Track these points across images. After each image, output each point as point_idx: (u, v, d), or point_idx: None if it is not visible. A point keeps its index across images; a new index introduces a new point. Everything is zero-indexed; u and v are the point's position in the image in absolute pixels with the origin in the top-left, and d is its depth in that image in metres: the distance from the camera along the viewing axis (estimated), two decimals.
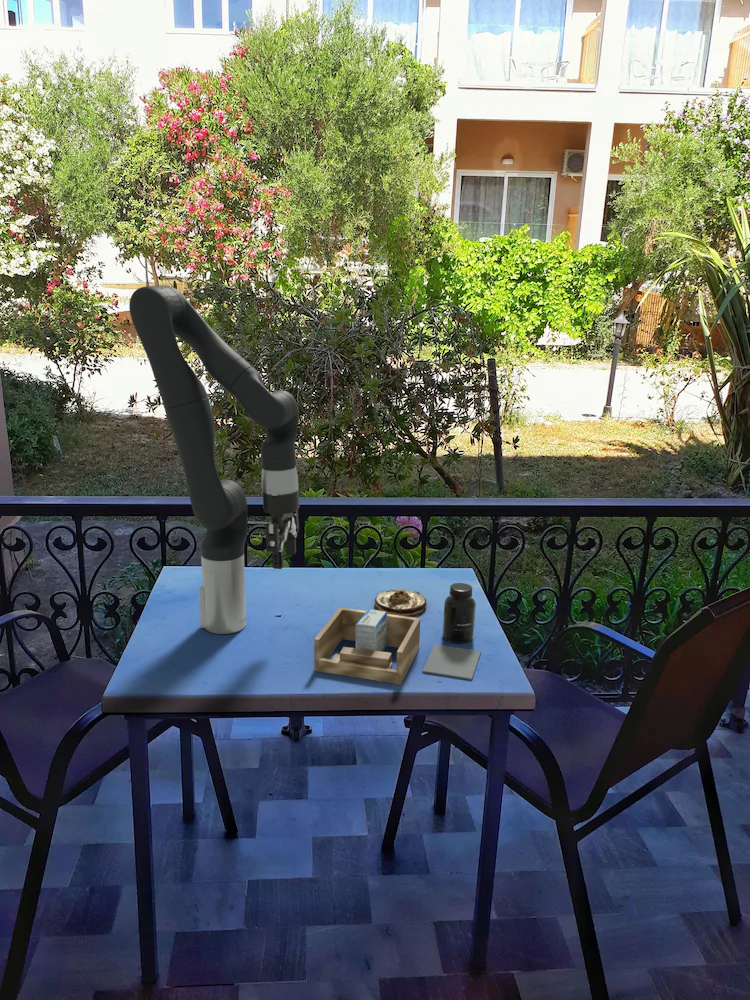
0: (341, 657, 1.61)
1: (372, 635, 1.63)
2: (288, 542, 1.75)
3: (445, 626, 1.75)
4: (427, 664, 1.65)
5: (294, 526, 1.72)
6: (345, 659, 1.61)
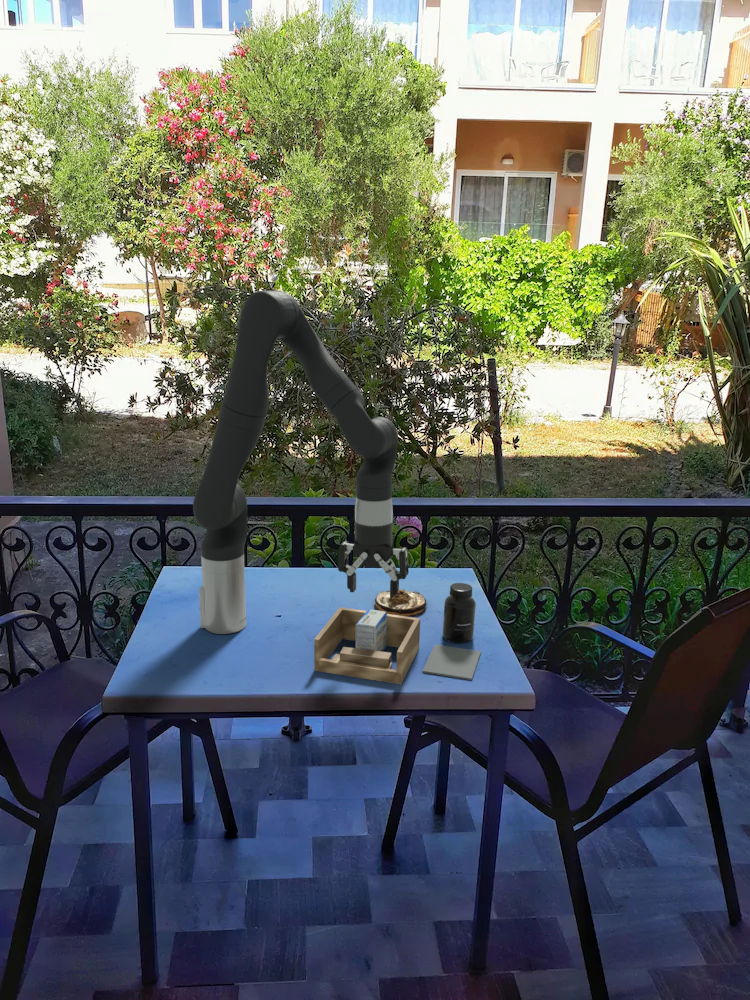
0: (341, 657, 1.61)
1: (372, 635, 1.63)
2: (354, 579, 1.65)
3: (445, 626, 1.75)
4: (427, 664, 1.65)
5: None
6: (345, 659, 1.61)
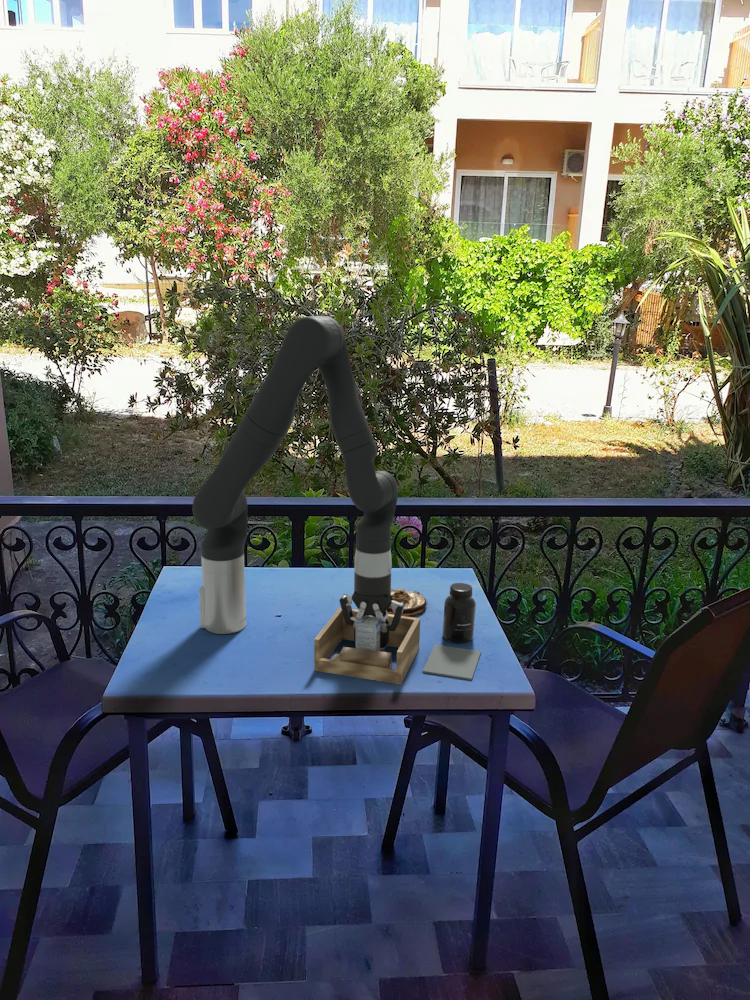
0: (341, 657, 1.61)
1: (372, 635, 1.63)
2: None
3: (445, 626, 1.75)
4: (427, 664, 1.65)
5: None
6: (345, 659, 1.61)
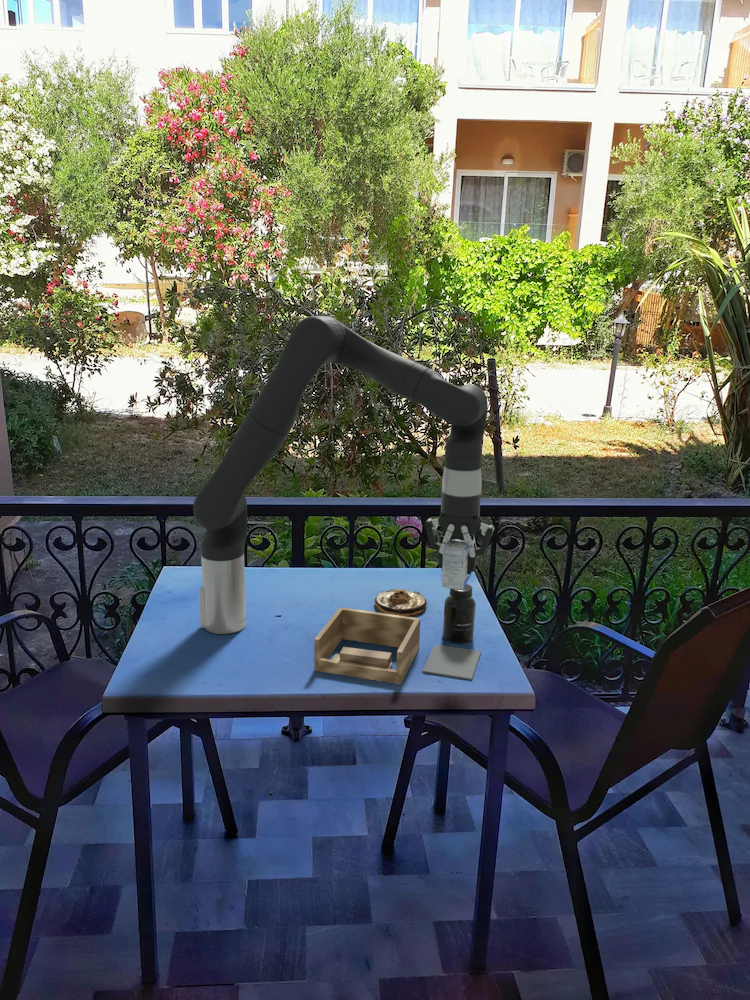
0: (341, 657, 1.61)
1: (461, 559, 1.55)
2: None
3: (445, 626, 1.75)
4: (427, 664, 1.65)
5: None
6: (345, 659, 1.61)
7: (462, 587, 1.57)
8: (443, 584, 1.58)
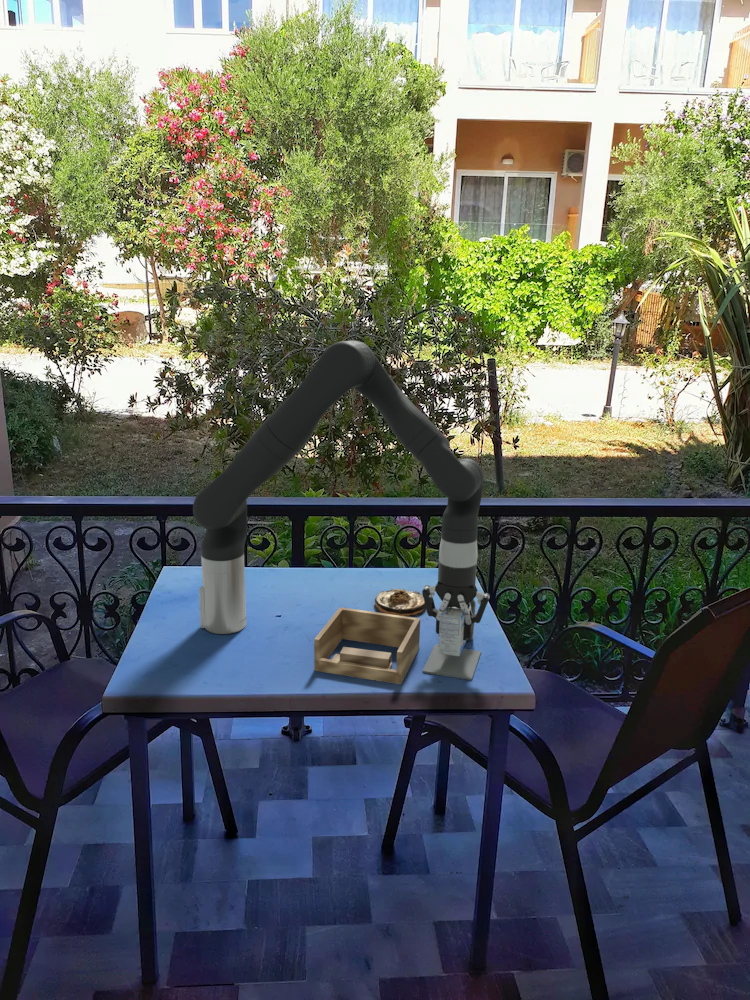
0: (341, 657, 1.61)
1: (457, 627, 1.60)
2: None
3: None
4: (427, 664, 1.65)
5: None
6: (345, 659, 1.61)
7: (458, 654, 1.61)
8: (440, 650, 1.62)
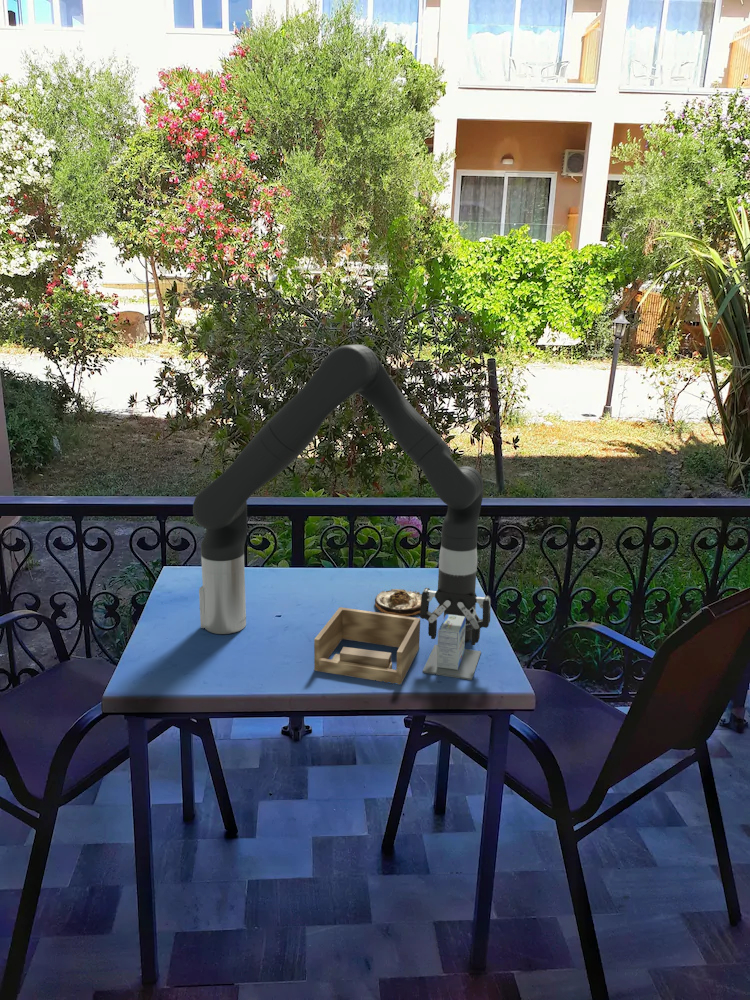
0: (341, 657, 1.61)
1: (455, 641, 1.61)
2: (435, 626, 1.65)
3: None
4: (427, 664, 1.65)
5: None
6: (345, 659, 1.61)
7: (457, 667, 1.62)
8: (438, 664, 1.63)
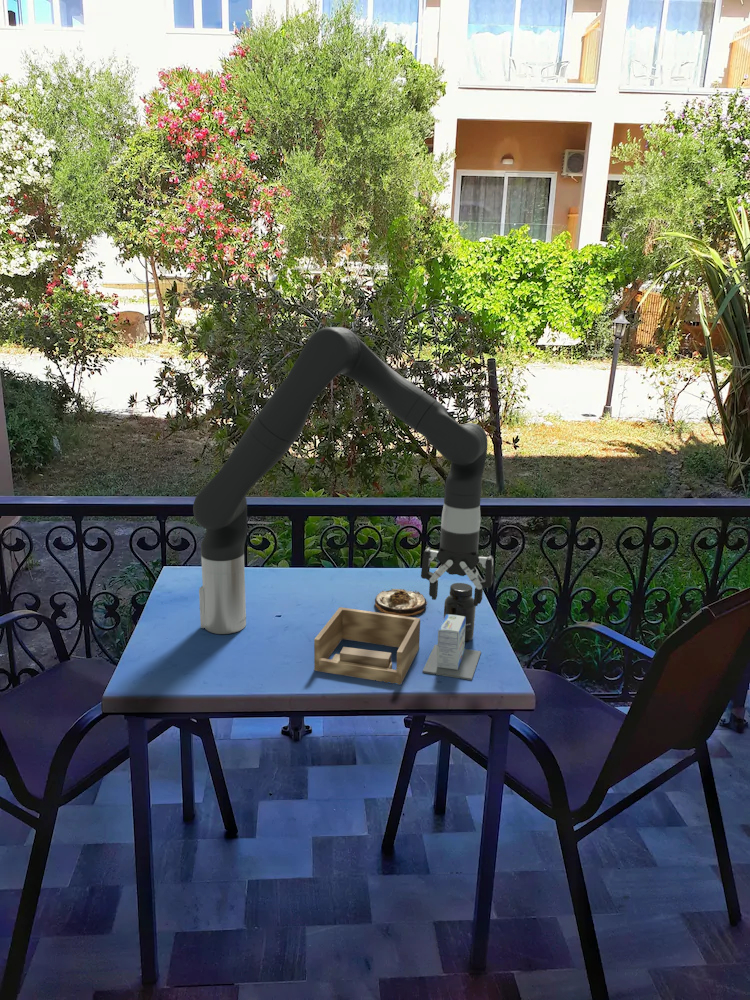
0: (341, 657, 1.61)
1: (455, 641, 1.61)
2: (436, 586, 1.62)
3: None
4: (427, 664, 1.65)
5: None
6: (345, 659, 1.61)
7: (457, 667, 1.62)
8: (438, 664, 1.63)
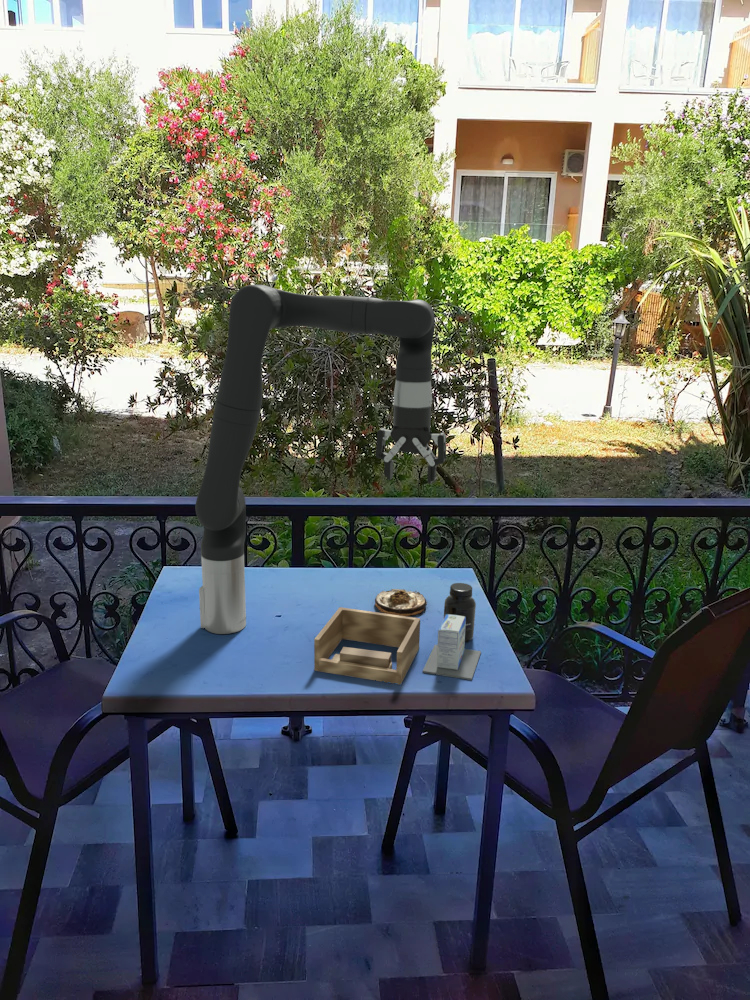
0: (341, 657, 1.61)
1: (455, 641, 1.61)
2: (391, 466, 1.65)
3: None
4: (427, 664, 1.65)
5: None
6: (345, 659, 1.61)
7: (457, 667, 1.62)
8: (438, 664, 1.63)
